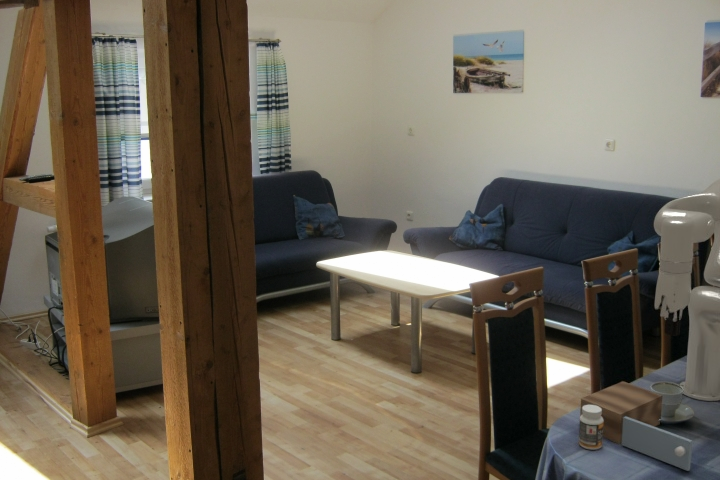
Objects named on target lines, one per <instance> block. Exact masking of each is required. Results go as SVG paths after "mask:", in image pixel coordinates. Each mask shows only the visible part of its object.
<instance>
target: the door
mask: <svg viewBox="0 0 720 480" xmlns="http://www.w3.org/2000/svg"><path fill="white" fill-rule="evenodd" d="M621 446H624V447H626V448H628V449H631V450H633V451H636V452H638V453H641V454H644V455H646V456H649V457H651V458H654V459H656V460H659V461H662V462H664V463H667V464H669V465H672V466H675V467H676V468H678V469H682V470H684V471H686V472H689V471H690V470H691V464H692V463H691V461H692V449H693V440H692V439H690V438H687V437H684V436H681V435H678V434H676V433H673V432H670V431H667V430H665V429H662V428H659V427H657V426H655V427H654V426H651V425H648V424H646V423H643V422H640V421H637V420H635V419H632V418H629V417H626V416H625V417H623V430H622V443H621Z"/></svg>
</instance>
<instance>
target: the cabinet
mask: <svg viewBox="0 0 720 480" xmlns="http://www.w3.org/2000/svg"><path fill="white" fill-rule="evenodd" d="M585 405H596V406H599V407H600V408H601V409H602V414H601V416H602V418H603V420H604V424H603V438H604V439H607V440H609V441H611V442H614V443H615V444H618V445H620V444H622V430H623V417H625V416H626V417H629V418H632V419H635V420H637V421H640V422H643V423H646V424H648V425H651V426H654V427H657V426H659V425H660V422H659V421H658V420H659V419H661V420H662V410H663V408H662V407H663V395H662V394H659V393H656V392H654V391H651V390H649V389H646V388H644V387H643V388H642V387H640V386H637V385H635V384H632V383H628V382H626V381H623V380H622V381H620V382H618V383H616V384H612V385H611V386H608V387H606V388H603V389H601V390H598V391H596V392H594V393H591V394H589V395H588V394H587V396H584V397H581V398H580V410H579V411H580V412H579V413H580V414H579V416H581V415H582V414H583V413H582V407H583V406H585Z"/></svg>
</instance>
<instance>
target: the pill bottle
mask: <svg viewBox="0 0 720 480" xmlns="http://www.w3.org/2000/svg"><path fill="white" fill-rule="evenodd" d="M582 413H583V414H582V415H581V416H580V415H579V416H580V417H579V425H578V426H579V429H578V444H579V446H581V448H583V449H586V450H590V451H591V450H592V451H594V450H595V451H596V450H599V449H601V448H602V447H603V442H604V441H603V440H604V439H603V438H604V437H603V424H604V420H603V418H602V416H601V414H602V409H601V408H600V407H599V406H596V405H585V406H583V407H582Z"/></svg>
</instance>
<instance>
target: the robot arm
mask: <svg viewBox="0 0 720 480" xmlns="http://www.w3.org/2000/svg"><path fill="white" fill-rule="evenodd" d="M653 229H654V231H655V233H656V234H657V235H658V236H660V252H659V273H658V276H657V281H656V287H655V297H654V309H655V310H661V311H660V314H659V315H660V317H662V318H664V320H665V321H664V334H666V335H668V336H673V337H677V336H678V335H680V334H681V333H680V332H681V319H682V316H683V310H684V309H685V308H686V307H687V308H688V309H687V310H688V316H689V322H688V323H689V327H688V329H689V330H688V342H687V355H686V367H685V368H686V369H685V381H681V382H680V383H679V385H680V386H682V387H683V389H684V392H683V393H682V394H683V395H685V396H687V397H689V398H692V399H694V400H699V401H705V402H706V401H708V402H716V401H720V178H719V179H717V180H715V181H713V183H711V184H710V185H709V186H708V187H707V188H706V189H704V190H703V191H702V192H701V193H696V194H693V195H689V196H685V197H680V198H676V199H673V200H671V201H669V202H667V203H665V204H664V205H663V206H662V207H661V208H660V209H659V211H658V212H657V213H656V215H655V217H654V220H653ZM713 235H714V239H713V243H712V247H711V249H710V253H709V256H708V259H707V261H706V264H705V267H704V271H703V278H704V280H705V282H706V283H708V284H709V285H700V286H696V287H693V289H692V274H693V254H694V243H695V244H696V243H702V242H706V241H707V240H709V239H711V237H712V236H713ZM710 285H711V286H710Z"/></svg>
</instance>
